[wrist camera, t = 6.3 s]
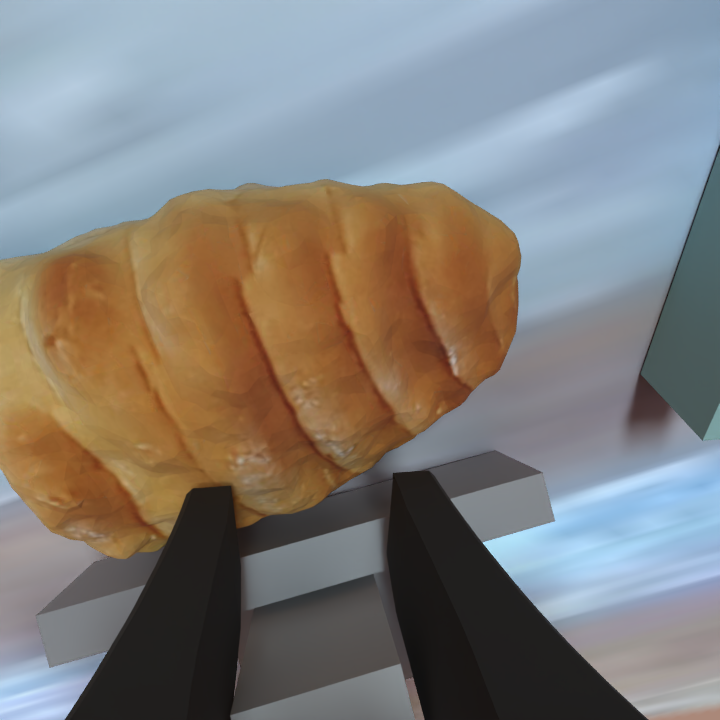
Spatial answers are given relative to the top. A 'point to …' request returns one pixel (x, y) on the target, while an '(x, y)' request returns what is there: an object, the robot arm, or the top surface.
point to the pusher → (310, 596)
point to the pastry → (243, 350)
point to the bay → (693, 325)
